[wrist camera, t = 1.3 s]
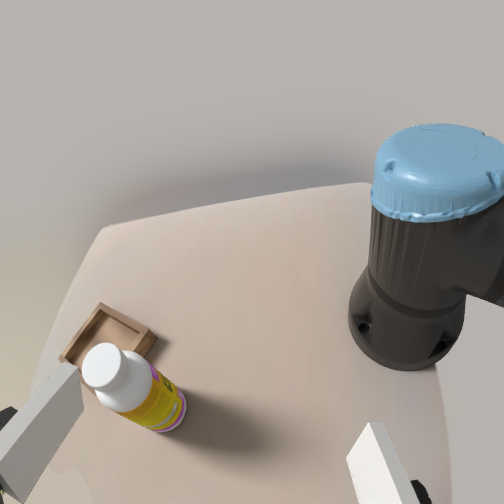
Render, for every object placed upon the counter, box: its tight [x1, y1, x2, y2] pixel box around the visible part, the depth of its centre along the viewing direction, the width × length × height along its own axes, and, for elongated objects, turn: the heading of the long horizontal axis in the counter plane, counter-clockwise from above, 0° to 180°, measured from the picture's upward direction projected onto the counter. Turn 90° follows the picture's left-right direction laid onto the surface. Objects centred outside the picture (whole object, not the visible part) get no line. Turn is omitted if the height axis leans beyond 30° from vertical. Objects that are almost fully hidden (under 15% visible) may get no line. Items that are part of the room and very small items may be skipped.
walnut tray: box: [58, 302, 157, 396], centre depth 38 cm, size 12×12×2 cm
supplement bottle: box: [82, 343, 186, 432], centre depth 27 cm, size 7×7×13 cm
